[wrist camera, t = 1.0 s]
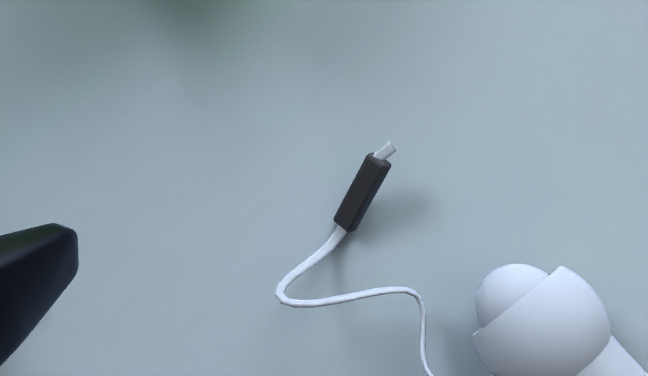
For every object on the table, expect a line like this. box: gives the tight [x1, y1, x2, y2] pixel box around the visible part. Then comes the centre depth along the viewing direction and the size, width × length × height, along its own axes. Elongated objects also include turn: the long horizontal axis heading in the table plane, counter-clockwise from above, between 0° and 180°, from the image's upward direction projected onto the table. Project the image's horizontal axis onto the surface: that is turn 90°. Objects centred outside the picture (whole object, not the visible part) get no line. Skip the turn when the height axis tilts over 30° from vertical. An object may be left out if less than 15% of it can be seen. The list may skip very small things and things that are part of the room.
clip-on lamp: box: [275, 141, 648, 376], centre depth 20 cm, size 12×6×18 cm
